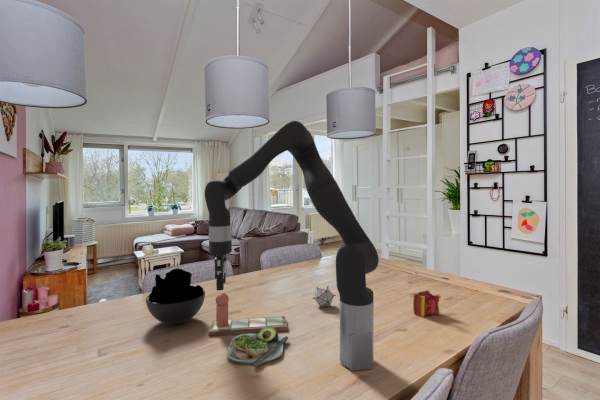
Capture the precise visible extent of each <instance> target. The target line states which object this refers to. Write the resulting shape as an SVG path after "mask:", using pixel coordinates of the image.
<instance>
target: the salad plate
mask: <svg viewBox="0 0 600 400" xmlns="http://www.w3.org/2000/svg"><path fill="white" fill-rule="evenodd" d="M288 340H289V337H288V336H284V337H283V336H282V335H280V334H279V333H278V332H277V331H276V329H274V328H272V327H267V328H263V329H261V330H260V331H259V333H248V334H237V335H235V336H234V337H233V338H232V339H231V341H230V343H229V345H228V348H227V351H226V357H227V358H228V359H229V360H230V361H232V362H235V363H236V362H237V364H241V365H252V366H255V367H256V366H257V367H258V366H260V365H261V364H264V363H268V362H271V361H273V360H276V359H278V358H280V357H281V356H282V355H283V351H284V345H285V343H286V342H287V341H288ZM237 350H238V351H240V352H244V353H246V354H247V357H245V358H241V357H239V356H238V355H237V354H236V351H237Z"/></svg>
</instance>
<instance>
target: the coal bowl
mask: <svg viewBox="0 0 600 400" xmlns="http://www.w3.org/2000/svg"><path fill="white" fill-rule="evenodd" d="M191 279H192V273H191V271H190V272H189V271H187V270H184V269H182V268H173V269H171V270H170V271H168V272H166V273H165V277H164V278H162V277H161V275H160V274H155V278H154V280H155V285H153V286H152V288H151V291H150V293H149V295H147V296H146V298H145V303H146V307H147V310H148V311H149V313H150V315H151V316H152V317H153V318H154V319H156V320H157V321H159V322H160V323H163V324H166V325H179V324H183V323H185V322H187V321H189V320H191V319H192V318H194V317H196V315H197V314H198V313H199V311H200V310H201V308H202V307H203V304H204V302H205V297H206V292H205V290H204V288H203V287H202V286H201V285H199V284H197V285H195V286H194V285H191V284H192V283H191V282H192V280H191Z"/></svg>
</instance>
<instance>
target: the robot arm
mask: <svg viewBox="0 0 600 400" xmlns="http://www.w3.org/2000/svg"><path fill="white" fill-rule="evenodd" d="M286 151H288V152H289V153H290V154H291V155H292V156H293V158H294V160H295V162H296V163H297V164H298V166H299V167H300V170H301V172H302V175H303V179H304V184H305V189H306V193H307V195H308V196H309V198H310V200H311V202H312V204H313V206H314V208H315V210H316V212H317V213H318V214H319V215H320V217H321V218H323V220H325V221H326V222H327V223H328V224H329V225H330V226H332V228H334V229H335V231H336V232H337V233H338V234H339V236H340V238H341V240H342V241H343V243H344V244H342V245H341V246H340V247H339V249H338V250H337V252H336V256H335V277H336V279H335V280H336V289H337V292H338V294H339V295H338V296H339V362H340V364H341V365H342V366H344V367H345V368H347V369H349V371H351V372H352V371H353V372H354V371H365V370H373V368H374V367H373V366H374V297H375V296H374V291H373V289H371V288H370V287H367V283H366V282H367V281H366V280H367V279H366V275H367V274H370V273H372V272H374V271H375V270H376V269H377V268H378V266H379V254H378V251H377V249H376V247H375V245H374V244H373V242H372V241H371V239H370V238H369V236H368V235H367V233H366V232H365V230H364V229H363V227H362V226H361V224H360V223H359V222H358V220H357V217H356V216H355V214H354V212H353V211H352V208H351V207H350V206H349V203H348V201H347V200H346V198H345V195H344V194H343V192H342V190H341V188H340V186H339V184H338V183H337V181H336V179H335V178H334V175H332V173H331V171H330V170H329V168H328V167H327V166H326V164H325V163H324V161H323V159H322V157H321V156H320V153H319V150H318V148H317V145H316V143H315V140H314V138H313V135H312V133H311V132H310V131H309V130H308V128H307V127H306V126H305V125H304V124H303V123H302V122H300V121H298V120H290V121H287V122H286V123H284V124H283V125H282V126H281V127H280V128H279V129H278V130H277V131H275V132H274V134H272V136H270V137H269V139H267V140H266V141H265V142H264V143H263V144H261V146H260V147H259V148H258V149H256V151H255V152H253V153H252V154H251V155H250V156H248V157H247V158H245V159H244V160H243V161H241V162H239V164H237V165H235V166H234V167H233V168H231V170H229V172H228V173H227V174H228V175H227V176H226V177H225V178H222V179H220V180H218V179H214V180H210V181H208V182H207V183H206V186H205V188H204V200H205V204H206V208H207V211H208V215H209V217H208V225H209V226H208V228H209V229H208V252H209V254H210V255H215V258H214V260H213V263H214V264H213V265H214V279H215V280H216V281H215V282H216V291H217V292H218V291H224V288H225V287H224V286H225V285H224V284H226V282H227V280H226V276H227V275H226V272H227V267H228V257H227V255H228V254H231V253H232V252H233V246H232V245H233V244H232V243H233V241H232V240H233V239H232V228H231V211H230V209H228V208H227V207H226V201H228V200H230V199H231V198H233V197H234V196H235V195H236V194H237V193H238V192H239V191H241V189H242V188H243V187H245V186H247V185H249V184H250V183H251V182H253V181H254V180H256V179H257V178H259V177H260V175H262V174H263V173H264V171H265V170H266V169H267V167H268V165H269V164H270V163H271V162H272V161H273V160H274V159H275V158H277V157H278V156H279V155H281V154H283V153H285V152H286Z"/></svg>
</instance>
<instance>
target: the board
mask: <svg viewBox="0 0 600 400" xmlns="http://www.w3.org/2000/svg"><path fill="white" fill-rule="evenodd" d="M287 323H288V322H287V319H286V316H283V315H282V316H270V317H269V316H268V317H267V316H266V317H265V316H264V317H252V318H237V319H236V318H235V319H234V318H233V319H228V325H227V326H225V327H218V326H216V320H211V323H210V326H209V329H208V336H209V337H217V336H230V335H241V334H258V333H259V331H260V330H261V329H263V328H267V327H272V328H274V329H276V331H277V333H278V332H289V331H288V329H289V327H288V324H287Z"/></svg>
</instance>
